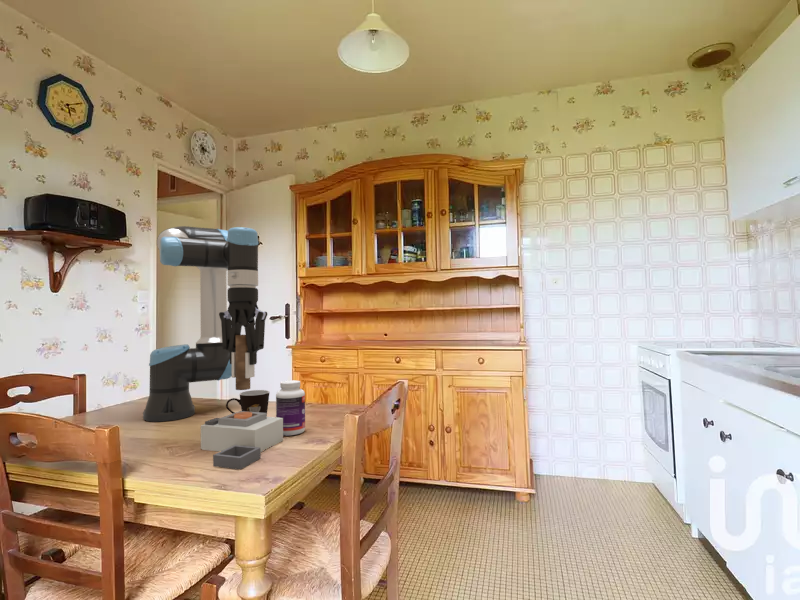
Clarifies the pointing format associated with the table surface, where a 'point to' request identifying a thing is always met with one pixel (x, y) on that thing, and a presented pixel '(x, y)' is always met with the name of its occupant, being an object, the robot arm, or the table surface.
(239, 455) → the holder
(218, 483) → the table surface
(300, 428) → the pill bottle
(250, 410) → the coffee mug
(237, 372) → the dowel
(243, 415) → the plunger
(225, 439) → the white pedestal box
